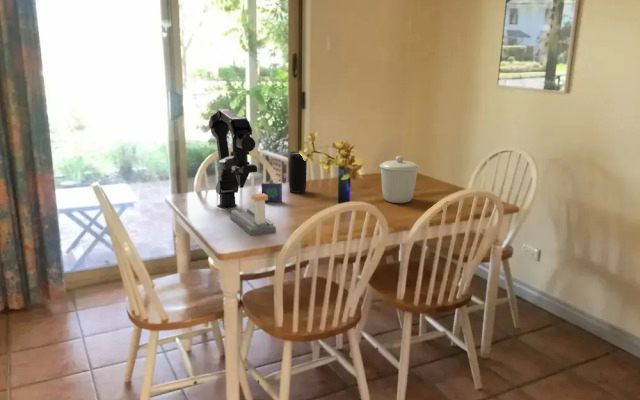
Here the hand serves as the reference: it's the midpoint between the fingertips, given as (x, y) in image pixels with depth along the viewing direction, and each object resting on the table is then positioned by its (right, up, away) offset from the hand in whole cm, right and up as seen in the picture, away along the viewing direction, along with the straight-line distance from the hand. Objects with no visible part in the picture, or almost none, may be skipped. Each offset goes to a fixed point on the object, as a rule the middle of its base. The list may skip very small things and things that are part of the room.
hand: (241, 187), depth 218 cm
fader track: (+5, -15, -6) cm, 17 cm away
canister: (+68, -5, +33) cm, 75 cm away
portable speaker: (+21, -1, +46) cm, 51 cm away
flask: (+10, -6, +27) cm, 30 cm away
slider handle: (+9, -15, -14) cm, 22 cm away
